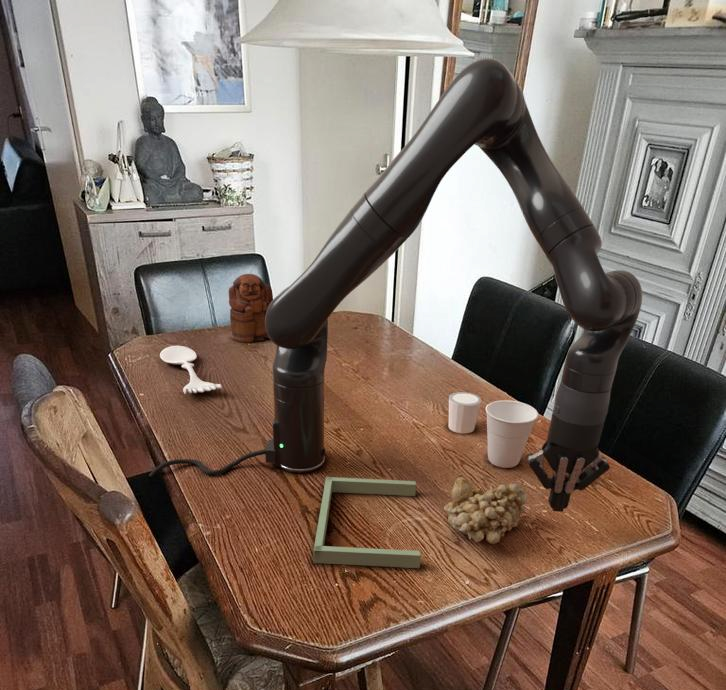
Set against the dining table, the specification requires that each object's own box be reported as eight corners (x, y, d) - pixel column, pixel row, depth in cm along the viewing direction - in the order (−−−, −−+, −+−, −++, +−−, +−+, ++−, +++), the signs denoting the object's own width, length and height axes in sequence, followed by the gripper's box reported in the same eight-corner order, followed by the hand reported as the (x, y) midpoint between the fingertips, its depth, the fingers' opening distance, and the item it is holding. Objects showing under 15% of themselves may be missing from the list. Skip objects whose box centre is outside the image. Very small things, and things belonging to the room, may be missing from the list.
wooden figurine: (236, 344, 176) (231, 279, 167) (230, 337, 181) (225, 273, 172) (276, 339, 181) (274, 275, 171) (270, 332, 186) (267, 270, 176)
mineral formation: (528, 518, 108) (510, 564, 96) (453, 510, 114) (426, 551, 101) (529, 476, 105) (510, 517, 93) (452, 469, 110) (424, 507, 98)
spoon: (185, 404, 142) (183, 390, 141) (157, 356, 166) (155, 344, 165) (224, 398, 146) (223, 384, 144) (191, 352, 170) (190, 340, 168)
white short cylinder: (476, 436, 134) (480, 406, 130) (444, 432, 135) (447, 402, 131) (477, 422, 139) (482, 393, 136) (447, 419, 140) (450, 390, 137)
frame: (313, 563, 96) (313, 550, 95) (325, 488, 114) (326, 476, 113) (419, 568, 96) (420, 555, 95) (414, 492, 114) (416, 481, 113)
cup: (518, 479, 119) (528, 427, 114) (470, 464, 124) (477, 413, 118) (535, 458, 127) (545, 408, 121) (489, 444, 131) (497, 395, 125)
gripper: (616, 403, 96) (591, 498, 105) (529, 399, 96) (512, 494, 105) (632, 425, 90) (604, 524, 99) (539, 421, 90) (519, 520, 99)
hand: (556, 508), depth 102 cm, fingers closed
